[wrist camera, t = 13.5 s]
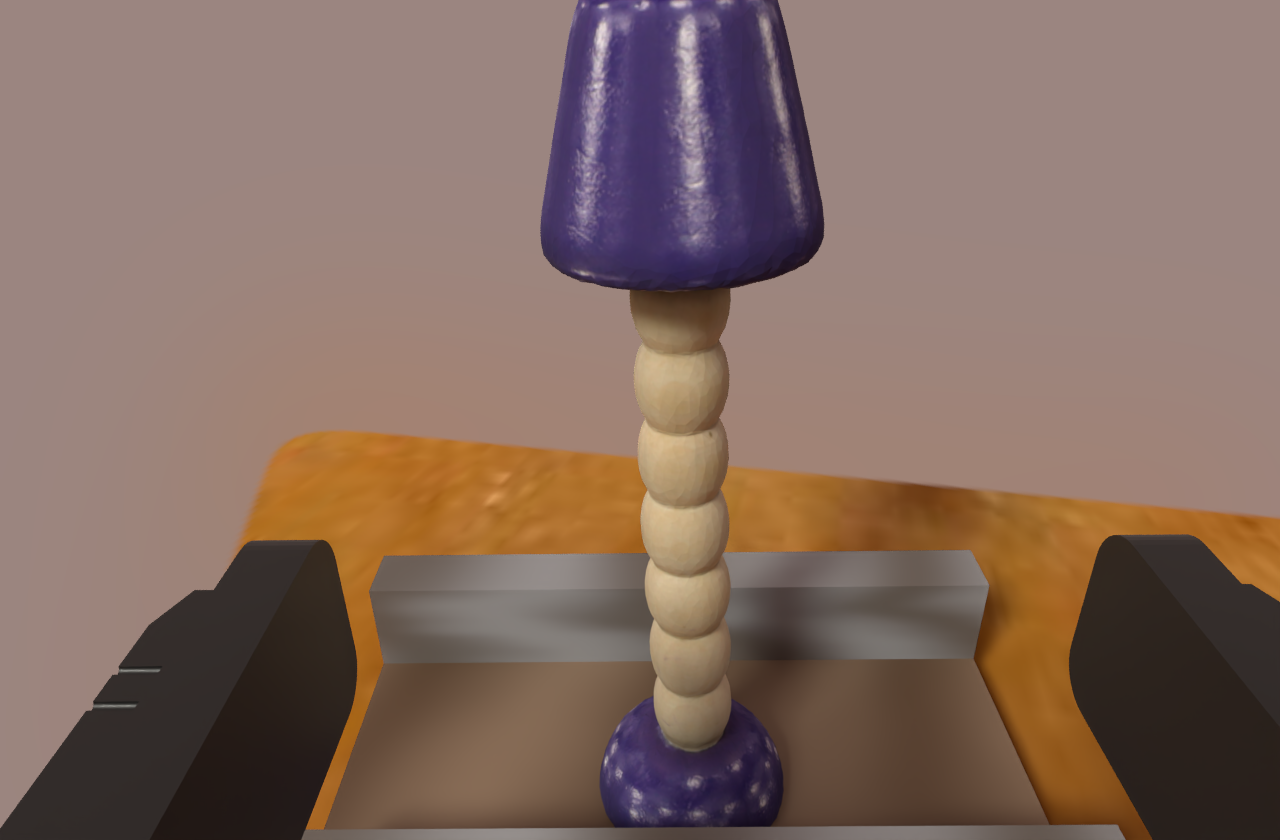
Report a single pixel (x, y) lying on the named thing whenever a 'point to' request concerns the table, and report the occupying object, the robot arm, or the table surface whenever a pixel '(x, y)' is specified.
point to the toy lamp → (683, 342)
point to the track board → (624, 677)
